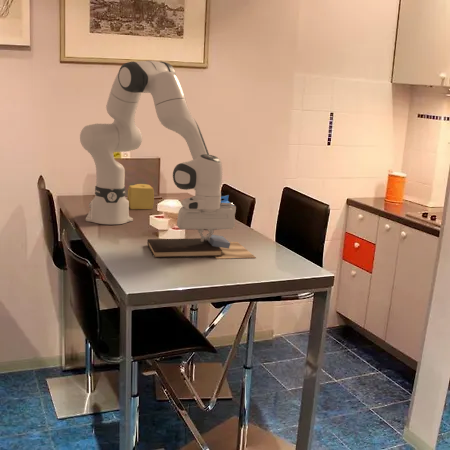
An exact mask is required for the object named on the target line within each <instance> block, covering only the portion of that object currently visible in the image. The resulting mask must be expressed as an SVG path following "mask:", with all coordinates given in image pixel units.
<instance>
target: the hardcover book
mask: <svg viewBox="0 0 450 450" xmlns="http://www.w3.org/2000/svg"><path fill="white" fill-rule="evenodd" d="M146 243H147V248H148V249H149V251H150V253H151V254H152V256H153V258H154V259H167V258H168V259H169V258H170V259H174V258H175V259H176V258H177V259H178V258H211V257H212V258H213V257H221V256H222V255H221V251H222V250H221V249H220V247H215V246H212V245H211V244H210V243H209V242H201V237H200V238H197V237H195V238H194V237H193V238H149V239H147V242H146Z"/></svg>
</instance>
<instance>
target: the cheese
mask: <svg viewBox="0 0 450 450" xmlns="http://www.w3.org/2000/svg"><path fill="white" fill-rule="evenodd" d="M126 199H127V200H128V201H129V210H153V207H154V202H155V190H154V187H152V186H151V185H150V184H148V183H147V184H146V183H137V184H134V185H133V184H132V185H129V186H128V188H127V197H126Z"/></svg>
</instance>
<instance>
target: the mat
mask: <svg viewBox="0 0 450 450" xmlns="http://www.w3.org/2000/svg"><path fill="white" fill-rule="evenodd" d="M229 242H230V247H229V248H222V247H220V249H221V250H222V251H221V255H222V256H221V257H215V259H216V260H224V259H225V260H228V259H230V260H231V258H237V259H238V258H239V259H256V256H255V255H254V254H253V253H251V252H250V251H249V250H248V249H246V248H245V247H244V246H243V245H242V244H240V242H238V241H229ZM239 259H238V260H239Z"/></svg>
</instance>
